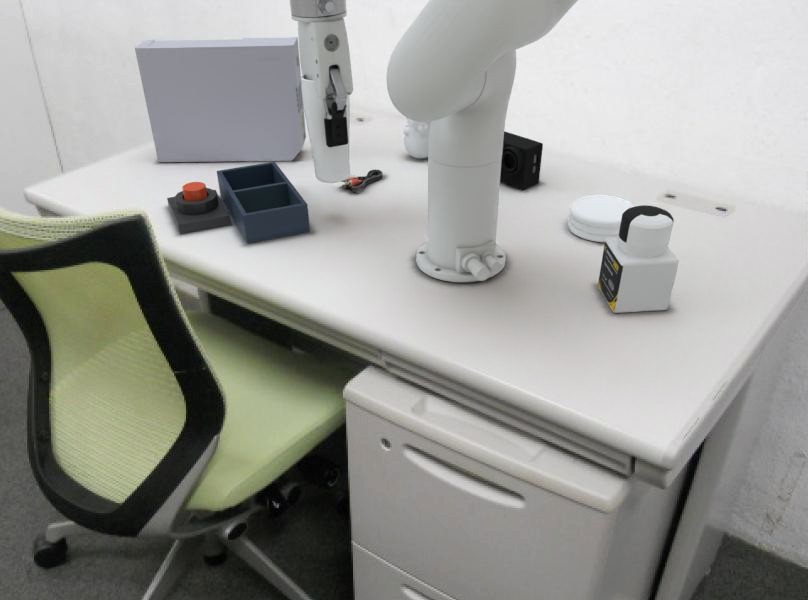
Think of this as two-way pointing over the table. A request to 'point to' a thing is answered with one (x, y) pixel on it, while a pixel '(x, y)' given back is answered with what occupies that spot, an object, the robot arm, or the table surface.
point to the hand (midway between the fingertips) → (329, 136)
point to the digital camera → (520, 161)
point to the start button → (194, 191)
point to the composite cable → (361, 180)
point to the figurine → (417, 138)
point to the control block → (198, 212)
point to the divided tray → (263, 202)
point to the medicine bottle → (639, 262)
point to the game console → (223, 99)
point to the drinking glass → (326, 159)
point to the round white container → (597, 216)
